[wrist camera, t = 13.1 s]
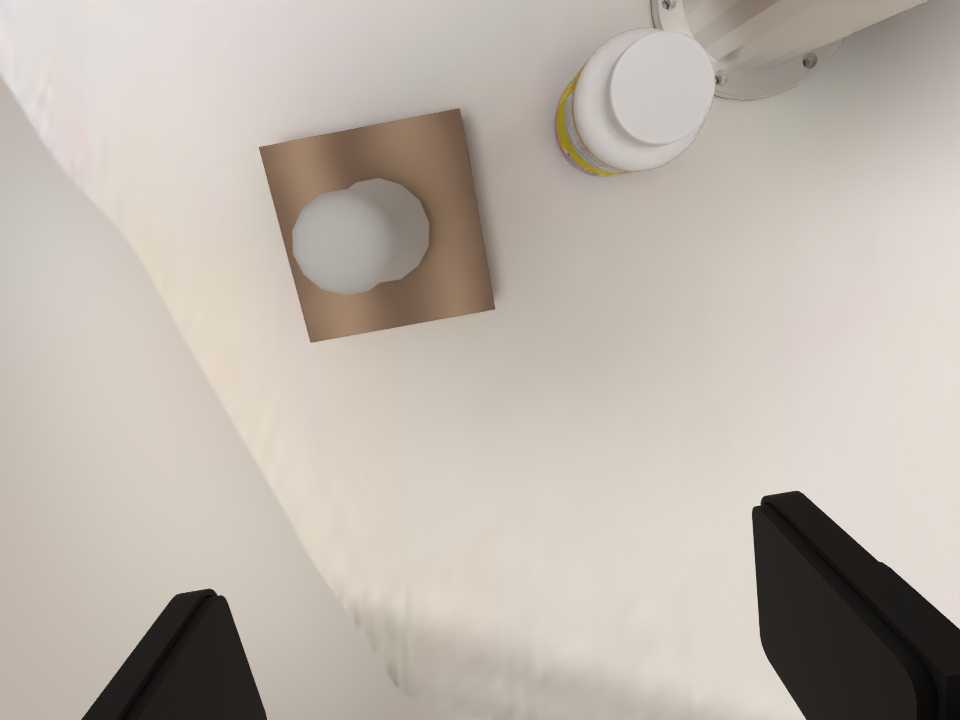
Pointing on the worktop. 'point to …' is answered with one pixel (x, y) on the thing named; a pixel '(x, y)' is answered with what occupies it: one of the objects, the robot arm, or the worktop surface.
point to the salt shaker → (360, 236)
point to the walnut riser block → (430, 178)
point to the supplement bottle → (635, 103)
